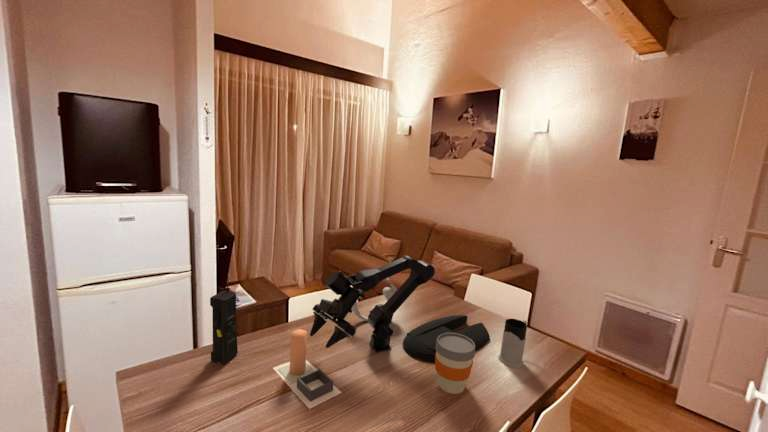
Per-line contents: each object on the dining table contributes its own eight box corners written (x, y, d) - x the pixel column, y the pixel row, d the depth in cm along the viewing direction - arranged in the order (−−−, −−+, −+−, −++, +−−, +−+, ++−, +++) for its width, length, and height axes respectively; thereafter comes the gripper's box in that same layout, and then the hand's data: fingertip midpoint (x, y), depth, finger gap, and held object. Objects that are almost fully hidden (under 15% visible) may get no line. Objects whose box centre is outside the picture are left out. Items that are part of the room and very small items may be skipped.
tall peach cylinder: (304, 365, 113) (306, 328, 111) (305, 374, 109) (307, 336, 107) (289, 366, 112) (290, 329, 110) (289, 376, 107) (291, 337, 105)
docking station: (387, 341, 135) (388, 329, 134) (451, 316, 162) (452, 306, 161) (435, 373, 117) (437, 360, 116) (498, 339, 143) (500, 328, 142)
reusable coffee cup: (443, 367, 120) (448, 328, 118) (476, 384, 112) (482, 342, 110) (424, 384, 110) (428, 341, 108) (459, 403, 103) (465, 358, 100)
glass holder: (494, 359, 128) (499, 322, 125) (510, 346, 138) (516, 312, 135) (516, 370, 122) (523, 331, 119) (532, 356, 132) (538, 320, 129)
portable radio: (224, 366, 111) (224, 294, 107) (208, 363, 112) (207, 291, 108) (239, 353, 119) (239, 285, 115) (223, 350, 120) (223, 283, 116)
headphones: (386, 333, 149) (344, 314, 141) (380, 323, 157) (340, 305, 149) (410, 292, 149) (370, 271, 141) (403, 285, 157) (364, 264, 149)
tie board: (341, 395, 102) (342, 383, 101) (309, 412, 95) (309, 399, 94) (302, 359, 119) (303, 348, 118) (272, 370, 111) (272, 359, 110)
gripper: (317, 282, 121) (289, 319, 116) (351, 300, 109) (320, 343, 103) (334, 297, 128) (308, 334, 122) (367, 316, 115) (340, 357, 110)
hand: (318, 341), depth 114 cm, fingers open, 9 cm apart
